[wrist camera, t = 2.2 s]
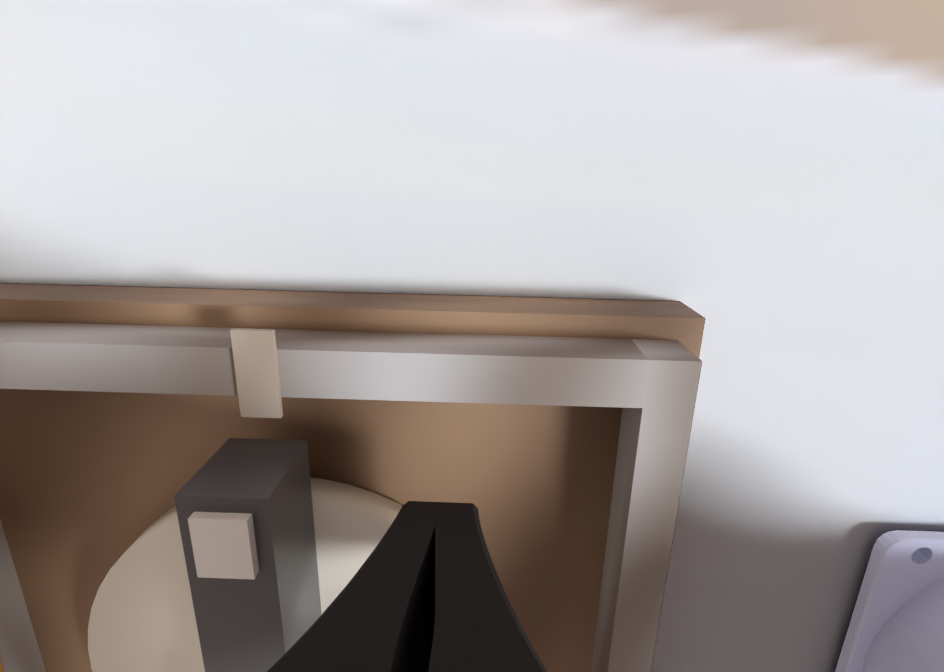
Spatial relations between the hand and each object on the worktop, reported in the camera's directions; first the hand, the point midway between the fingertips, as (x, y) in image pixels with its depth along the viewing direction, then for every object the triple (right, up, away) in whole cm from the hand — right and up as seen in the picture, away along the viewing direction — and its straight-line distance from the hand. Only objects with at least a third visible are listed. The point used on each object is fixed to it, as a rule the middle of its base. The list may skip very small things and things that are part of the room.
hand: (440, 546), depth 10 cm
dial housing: (-4, -3, +5) cm, 7 cm away
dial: (-4, -3, +4) cm, 6 cm away
